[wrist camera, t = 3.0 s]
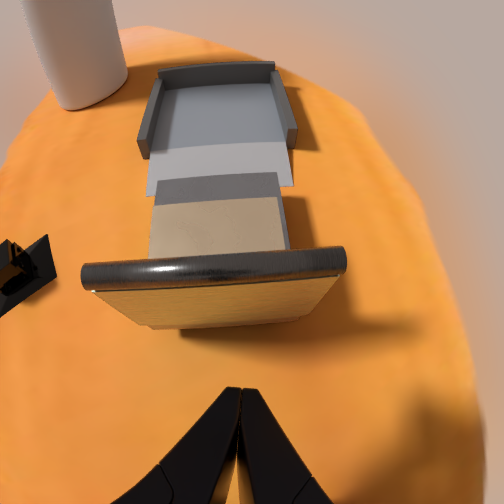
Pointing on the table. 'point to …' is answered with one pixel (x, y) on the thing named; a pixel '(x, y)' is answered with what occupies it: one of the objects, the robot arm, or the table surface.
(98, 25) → the cylinder vase
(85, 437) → the table surface
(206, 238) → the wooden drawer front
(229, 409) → the robot arm
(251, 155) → the dock
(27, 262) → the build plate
